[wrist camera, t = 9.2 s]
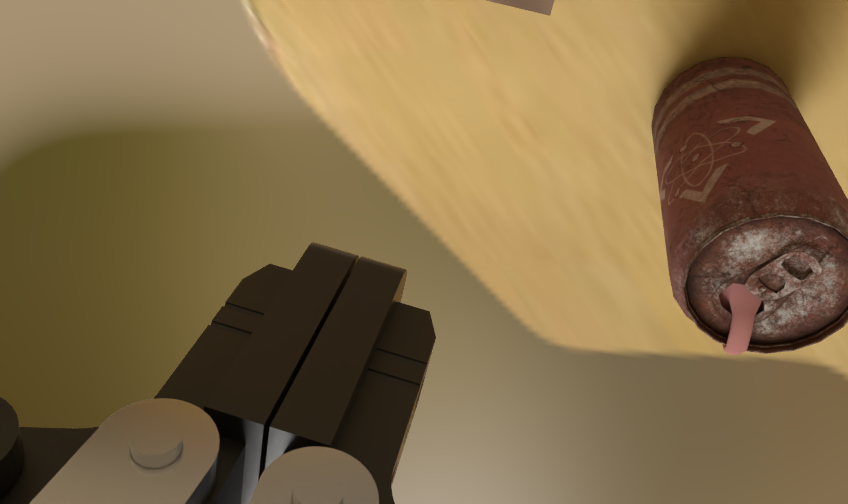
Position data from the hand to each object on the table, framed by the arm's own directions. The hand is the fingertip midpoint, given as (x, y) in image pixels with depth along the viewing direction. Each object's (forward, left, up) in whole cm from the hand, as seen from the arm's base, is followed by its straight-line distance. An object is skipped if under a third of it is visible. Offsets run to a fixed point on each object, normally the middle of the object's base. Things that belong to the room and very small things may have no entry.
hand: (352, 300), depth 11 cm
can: (-11, +5, -26) cm, 29 cm away
